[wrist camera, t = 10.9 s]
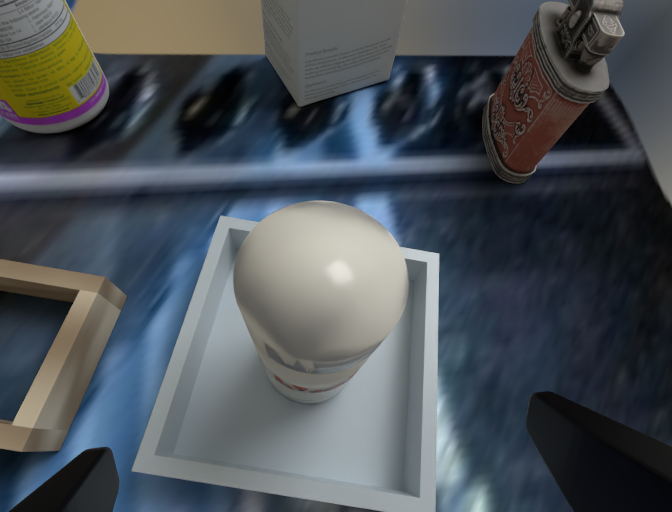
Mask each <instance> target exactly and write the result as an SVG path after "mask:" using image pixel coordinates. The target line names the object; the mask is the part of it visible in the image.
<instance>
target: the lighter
mask: <svg viewBox="0 0 672 512" xmlns="http://www.w3.org/2000/svg"><path fill="white" fill-rule="evenodd" d="M568 2H569V4H570V6H569V5H567V4H564V3H560V2H545V3H543V4H541V5H540V7H539V9H538V11H537V13H536V14H535V16H534V18H533V26H532V28H531V30H530V32H529V33H528V35H527V37H526V39H525V40H524V42H523V44H522V46H521V47H520V49H519V51H518V53H517V55H516V56H515V58H514V60H513V62H512V63H511V65H510V67H509V69H508V70H507V72H506V74H505V76H504V78H503V79H502V81H501V83H500V85H499V86H498V88H497V90H496V92H495V94H493V95H491V96H490V97H489V99H488V101H487V102H486V104H485V106H484V108H483V117H482V129H483V139H484V143H485V147H486V151H487V155H488V157H489V160H490V162H491V165H492V168H493V170H494V172H495V173H496V175H497V176H498V177H500V178H501V179H502V180H504V181H507V182H510V183H522V182H525V181H526V180H527V179H528V178H529V177H530V176H531V175H532V174H533V173H534V172H535V170H536V165H537V164H538V162H539V161H540V160H541V159H542V158H543V157H544V155H545V154H546V153H547V152H548V151H549V150H550V148H551V147H552V146H553V145H554V144H555V143H556V141H557V140H558V139H559V138H560V137H561V136H562V135H563V133H564V132H565V131H566V130H567V129H568V128H569V126H570V125H571V124H572V123H573V122H574V121H575V119H576V118H577V117H578V116H579V115H580V114H581V112H582V111H583V110H584V109H585V108H586V107H587V105H588V104H589V103H592V102H595V101H596V100H597V99H598V98H599V97H600V96H601V95H602V94H603V92H604V91H605V90H606V89H607V88H608V87H609V77H608V70H607V64H606V61H605V58H604V56H605V55H608V54H609V53H610V52H611V51H612V49H613V48H614V47H615V46H616V44H617V43H618V42H619V41H620V39H621V38H622V37H623V35H624V34H625V33H624V30H623V28H622V26H621V24H620V22H619V18H620V15H621V12H622V10H623V5H624V2H623V0H568Z"/></svg>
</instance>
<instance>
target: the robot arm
mask: <svg viewBox="0 0 672 512" xmlns="http://www.w3.org/2000/svg"><path fill="white" fill-rule="evenodd" d="M526 428H527V431H528V434H529V436H530V437H531V439H532V441H533V443H534V444H535V446H536V448H537V450H538V452H539V453H540V455H541V457H542V459H543V460H544V462H545V464H546V466H547V467H548V469H549V471H550V473H551V474H552V476H553V478H554V480H555V481H556V483H557V485H558V487H559V489H560V490H561V492H562V494H563V495H564V497H565V499H566V500H567V502H568V503H569V505H570V506H571V508H572V509H573V511H574V512H672V446H669V445H667V444H665V443H663V442H661V441H658V440H656V439H654V438H652V437H650V436H647V435H645V434H643V433H641V432H639V431H636V430H634V429H632V428H630V427H628V426H625V425H623V424H621V423H619V422H617V421H614V420H612V419H610V418H608V417H606V416H603V415H601V414H599V413H597V412H595V411H592V410H590V409H588V408H586V407H584V406H581V405H579V404H577V403H575V402H573V401H570V400H568V399H566V398H564V397H562V396H559V395H557V394H555V393H553V392H549V391H545V392H537V393H533V394H532V395H531V396H530V399H529V404H528V410H527V416H526ZM118 489H119V477H118V473H117V469H116V465H115V461H114V457H113V453H112V451H111V449H110V448H109V447H100V448H92V449H87V450H85V451H83V452H82V453H81V454H79V455H78V456H77V457H76V458H74V459H73V460H72V461H71V462H69V463H68V464H67V465H66V466H64V467H63V468H62V469H61V470H60V471H58V472H57V473H56V474H55V475H53V476H52V477H51V478H50V479H48V480H47V481H46V482H45V483H43V484H42V485H41V486H40V487H38V488H37V489H36V490H35V491H34V492H32V493H31V494H30V495H29V496H27V497H26V498H25V499H24V500H22V501H21V502H20V503H19V504H17V505H16V506H15V507H14V508H12V509H11V510H10V511H9V512H112V511H113V508H114V504H115V501H116V497H117V494H118Z"/></svg>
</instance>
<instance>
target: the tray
mask: <svg viewBox="0 0 672 512" xmlns="http://www.w3.org/2000/svg"><path fill="white" fill-rule="evenodd" d="M258 223H259V222H254V221H248V220H242V219H236V218H231V217H225V216H220V219H219V222H218V225H217V227H216V230H215V233H214V236H213V239H212V242H211V245H210V247H209V250H208V253H207V256H206V259H205V262H204V265H203V268H202V270H201V273H200V276H199V279H198V282H197V285H196V288H195V290H194V293H193V296H192V299H191V302H190V305H189V308H188V310H187V313H186V316H185V319H184V322H183V325H182V328H181V331H180V333H179V336H178V339H177V342H176V345H175V348H174V351H173V353H172V356H171V359H170V362H169V365H168V368H167V371H166V374H165V376H164V379H163V382H162V385H161V388H160V391H159V394H158V396H157V399H156V402H155V405H154V408H153V411H152V414H151V416H150V419H149V422H148V425H147V428H146V431H145V434H144V437H143V439H142V442H141V445H140V448H139V451H138V454H137V457H136V459H135V462H134V465H133V468H132V471H133V472H140V473H146V474H152V475H158V476H165V477H171V478H177V479H183V480H190V481H196V482H202V483H208V484H215V485H221V486H227V487H233V488H240V489H246V490H252V491H258V492H265V493H271V494H277V495H283V496H290V497H296V498H302V499H308V500H315V501H321V502H327V503H333V504H340V505H346V506H352V507H358V508H365V509H371V510H377V511H383V512H435V502H436V433H437V364H438V296H439V254H437V253H432V252H426V251H420V250H414V249H409V248H403V247H400V249H401V251H402V253H403V255H404V258H405V262H406V265H407V270H408V276H409V289H408V297H407V301H406V306H405V308H404V311H403V313H402V316H401V318H400V319H399V321H398V323H397V324H396V326H395V327H394V328H393V330H392V331H391V332H390V333H389V335H388V336H387V337H386V338H385V339H384V341H383V342H382V343H381V344H380V345H379V347H378V348H377V349H376V350H375V351H374V352H373V354H372V355H371V356H370V357H369V358H368V360H367V361H366V362H365V363H364V364H363V366H362V367H361V368H360V369H359V370H358V371H357V373H356V374H355V375H354V376H353V377H352V379H351V380H350V381H349V382H348V383H347V385H346V386H345V387H344V388H343V389H342V390H341V391H340V392H339V393H338V394H337V395H336V396H334V397H333V398H331V399H329V400H327V401H325V402H322V403H318V404H312V405H306V404H299V403H295V402H292V401H290V400H288V399H286V398H285V397H283V396H282V395H280V394H279V393H278V392H277V391H276V390H275V388H274V387H273V386H272V384H271V382H270V381H269V379H268V376H267V374H266V372H265V369H264V367H263V364H262V362H261V360H260V357H259V355H258V352H257V350H256V348H255V345H254V343H253V341H252V338H251V336H250V333H249V331H248V329H247V326H246V324H245V322H244V319H243V317H242V314H241V312H240V310H239V307H238V305H237V302H236V298H235V294H234V286H233V271H234V266H235V260H236V257H237V255H238V252H239V249H240V247H241V245H242V243H243V241H244V240H245V238H246V237H247V236H248V234H249V233H250V232H251V230H252V229H253V228H254V227H255V226H256V225H257V224H258Z"/></svg>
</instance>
